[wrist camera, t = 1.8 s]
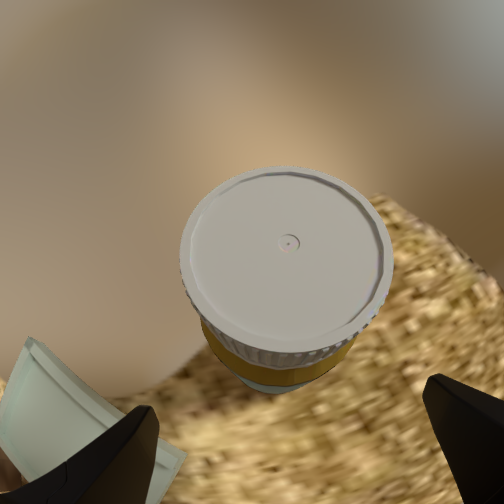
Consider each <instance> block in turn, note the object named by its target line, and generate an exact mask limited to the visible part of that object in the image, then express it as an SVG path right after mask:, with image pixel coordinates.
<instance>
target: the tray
mask: <svg viewBox="0 0 504 504" xmlns="http://www.w3.org/2000/svg"><path fill="white" fill-rule="evenodd" d="M124 416H126V415H125V414H124V413H122V412H121V411H119V410H118V409H117V408H115V407H114V406H113V405H111V404H110V403H109V402H108V401H106V400H105V399H104V398H103V397H101V396H100V395H99V394H98V393H96V392H95V391H94V390H93V389H91V388H90V387H89V386H88V385H87V384H86V383H84V382H83V381H82V380H81V379H80V378H79V377H78V376H77V375H75V374H74V373H73V372H72V371H71V370H70V369H69V368H68V367H67V366H66V365H65V364H64V363H63V362H62V361H61V360H60V359H59V358H57V357H56V356H55V355H54V354H53V353H52V352H51V350H49V348H48V347H47V346H46V345H45V344H44V343H42V342H39V341H37V340H35V339H33V338H31V337H29V336H28V338H27V340H26V342H25V344H24V347H23V349H22V351H21V353H20V355H19V357H18V360H17V362H16V364H15V366H14V369H13V371H12V373H11V376H10V378H9V381H8V383H7V386H6V388H5V391H4V394H3V397H2V399H1V402H0V447H1V448H2V450H3V451H4V452H5V454H6V455H7V456H8V458H9V459H10V460H11V462H12V463H13V464H14V465H15V467H16V468H17V469H18V470H19V472H20V473H21V474H22V475H23V476H24V477H25V479H26V480H27V481H28V482H31V481H33V480H35V479H37V478H39V477H41V476H43V475H44V474H46V473H48V472H49V471H51V470H52V469H54V468H56V467H57V466H58V465H60V464H61V463H63V462H64V461H66V460H67V459H68V458H70V457H71V456H73V455H74V454H75V453H77V452H78V451H80V450H81V449H82V448H84V447H85V446H86V445H88V444H89V443H90V442H92V441H93V440H94V439H96V438H97V437H98V436H100V435H101V434H102V433H104V432H105V431H106V430H108V429H109V428H110V427H111V426H113V425H114V424H115V423H117V422H118V421H119V420H121V419H122V418H123V417H124ZM187 455H188V454H187V453H185V452H184V451H182V450H180V449H178V448H176V447H175V446H173V445H171V444H169V443H168V442H166V441H164V440H163V439H161V438H159V437H158V443H157V451H156V459H155V466H154V470H153V475H152V478H151V482H150V486H149V490H148V495H147V499H146V503H145V504H160V502H161V500H162V499H163V497H164V495H165V494H166V492H167V490H168V488H169V487H170V485H171V483H172V481H173V480H174V478H175V476H176V474H177V473H178V471H179V469H180V467H181V465H182V464H183V462H184V460H185V458H186V456H187Z"/></svg>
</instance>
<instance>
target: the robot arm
mask: <svg viewBox="0 0 504 504" xmlns="http://www.w3.org/2000/svg"><path fill="white" fill-rule="evenodd" d="M422 398H423V402H424V404H425V407H426V410H427V413H428V416H429V419H430V422H431V425H432V428H433V430H434V433H435V435H436V438H437V440H438V442H439V444H440V446H441V449H442V451H443V453H444V455H445V458H446V460H447V462H448V465H449V467H450V469H451V472H452V474H453V477H454V479H455V482H456V484H457V487H458V489H459V492H460V494H461V497H462V500H463V502H464V504H504V401H503V400H501V399H498V398H496V397H493V396H491V395H489V394H486V393H484V392H482V391H479V390H477V389H474V388H472V387H470V386H468V385H465V384H463V383H461V382H458V381H456V380H454V379H452V378H449V377H447V376H445V375H443V374H440V373H438V374H435V375H432V376H430V377H429V378H428V380H427V382H426V385H425V388H424V391H423V395H422ZM158 436H159V421H158V419H157V417H156V414H155V412H154V409H153V408H152V407H151V406H148V405H139V406H137V407H136V408H134V409H133V410H132V411H131V412H129V413H128V414H127V415H126V416H124V417H123V418H122V419H121V420H119V421H118V422H117V423H115V424H114V425H113V426H111V427H110V428H109V429H108V430H106V431H105V432H104V433H102V434H101V435H100V436H98V437H97V438H96V439H94V440H93V441H92V442H90V443H89V444H88V445H86V446H85V447H84V448H82V449H81V450H80V451H78V452H77V453H75V454H74V455H73V456H71V457H70V458H68V459H67V460H66V461H64V462H63V463H61V464H60V465H58V466H57V467H56V468H54V469H52V470H51V471H49V472H48V473H46V474H44V475H43V476H41V477H39V478H37V479H35V480H33V481H31V482H29V483H27V484H25V485H23V486H21V487H19V488H17V489H15V490H13V491H10V492H7V493H2V494H0V504H145V503H146V499H147V495H148V490H149V486H150V482H151V478H152V475H153V470H154V466H155V459H156V451H157V443H158Z"/></svg>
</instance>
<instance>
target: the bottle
mask: <svg viewBox="0 0 504 504" xmlns="http://www.w3.org/2000/svg"><path fill="white" fill-rule="evenodd" d="M179 262H180V268H181V269H180V273H181V275H182V277H183V279H182V282H183V285H184V287H185V288H186V294H187V296H188V297H189V298H190V300H191V304H192V305H193V307H194V308H195V310H196V311H197V313H198V314H199V316H200V320H201V326H202V330H203V333H204V335H205V337H206V339H207V341H208V343H209V345H210V347H211V348H212V350H213V352H214V353H215V355H216V356H217V357H218V359H219V360H220V361H221V362H222V363H223V364H224V365H225V366H226V367H228V368H229V369H230V370H231V371H232V372H233V373H234V374H235V375H236V376H237V377H238V378H239V379H240V380H242V381H243V382H244V383H245V384H246V385H247V386H249V387H251V388H253V389H255V390H258V391H260V392H264V393H273V394H281V393H286V392H289V391H293V390H296V389H298V388H300V387H302V386H304V385H306V384H308V383H310V382H311V381H313V380H315V379H317V378H319V377H320V376H322V375H323V374H325V373H326V372H328V371H329V370H331V369H332V368H333V367H335V366H336V365H337V364H338V363H339V362H340V361H341V360H342V359H343V357H344V356H345V355H346V353H347V352H348V351H349V349H350V348H351V346H352V345H353V343H354V341H355V339H356V337H357V335H358V334H359V333H360V332H362V331H363V329H364V328H366V327H367V326H368V325H369V324H370V323H371V321H372V319H373V318H374V317H375V316H376V315H377V314H378V312H379V309H380V308H381V307H382V306H383V304H384V299H385V297H386V296H387V295H388V292H389V291H388V290H389V287H390V284H391V280H392V275H393V265H394V259H393V249H392V244H391V240H390V236H389V234H388V231H387V228H386V226H385V224H384V222H383V220H382V219H381V217H380V215H379V214H378V212H377V211H376V210H375V208H374V207H373V206H372V205H371V203H370V202H369V201H368V200H367V199H366V198H365V197H364V196H363V195H362V194H360V193H359V192H358V191H357V190H355V189H354V188H353V187H351V186H350V185H348V184H347V183H345V182H343V181H341V180H339V179H338V178H335V177H333V176H331V175H329V174H326V173H323V172H320V171H317V170H313V169H309V168H302V167H294V166H272V167H264V168H259V169H254V170H251V171H247V172H244V173H242V174H239V175H237V176H234V177H233V178H231V179H228V180H227V181H225V182H224V183H222V184H220V185H219V186H217V187H216V188H214V189H213V190H212V191H211V192H210V193H209V194H208V195H206V196H205V197H204V198H203V199H202V201H201V202H200V203H199V204H198V205H197V207H196V208H195V209H194V211H193V212H192V214H191V216H190V217H189V219H188V221H187V224H186V226H185V228H184V231H183V235H182V239H181V245H180V259H179Z"/></svg>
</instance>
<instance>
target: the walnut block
mask: <svg viewBox="0 0 504 504" xmlns="http://www.w3.org/2000/svg"><path fill="white" fill-rule="evenodd" d="M19 487H21V473H20V472H19V470H18V469H17V468H16V467H15V465H14V464H13V463H12V462H11V460H10V459H9V458H8V456H7V455H6V454H5V452H4V451H3V450H2V448H1V447H0V492H3V491H13V490H15V489H17V488H19Z"/></svg>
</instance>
